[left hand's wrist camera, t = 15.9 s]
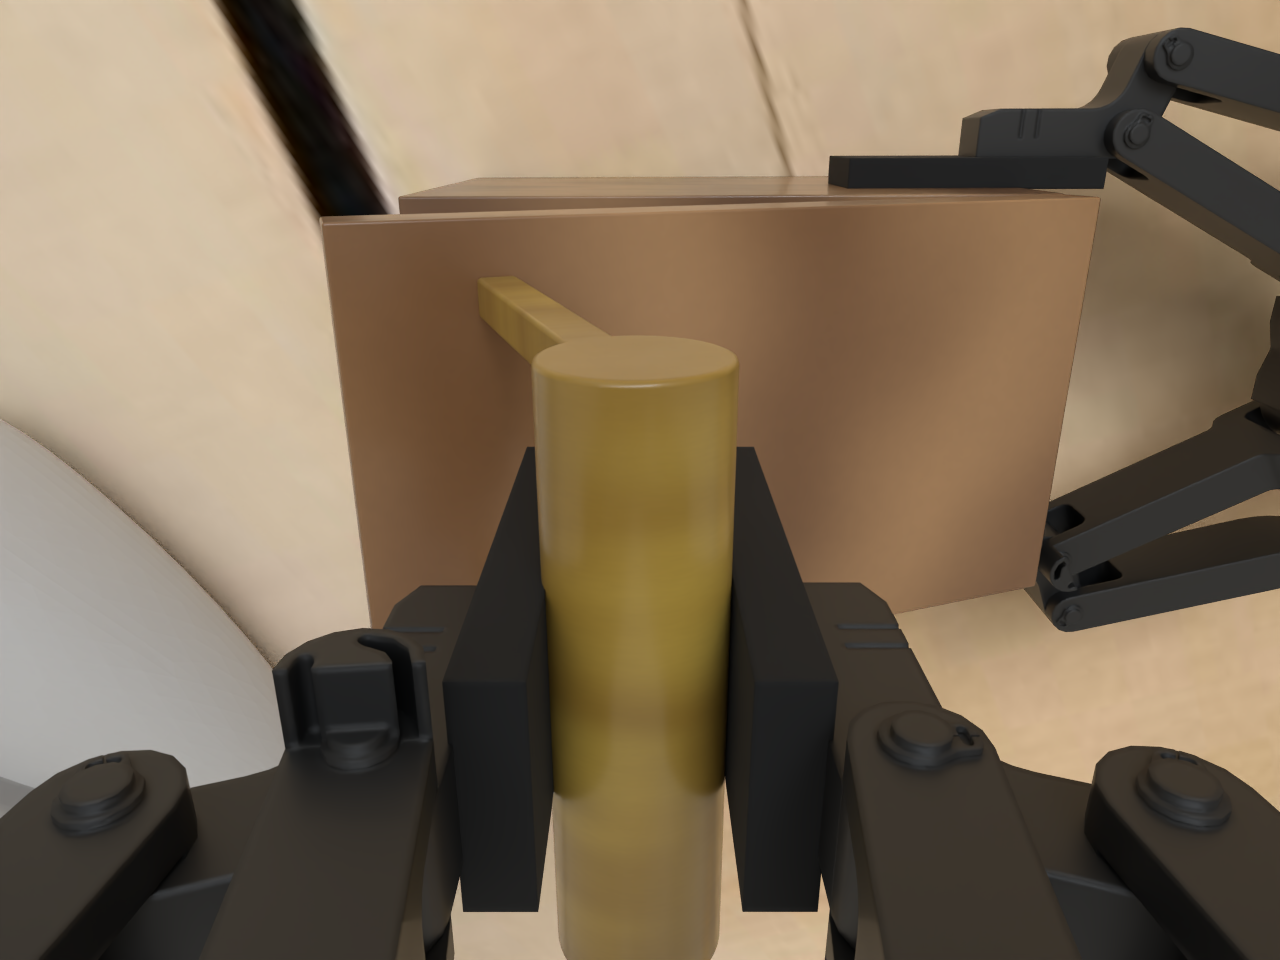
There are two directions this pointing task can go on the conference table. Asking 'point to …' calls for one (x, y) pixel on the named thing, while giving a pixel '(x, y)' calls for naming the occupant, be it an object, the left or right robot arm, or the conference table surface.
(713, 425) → the lid
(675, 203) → the chest
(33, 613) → the projector
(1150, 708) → the conference table surface
